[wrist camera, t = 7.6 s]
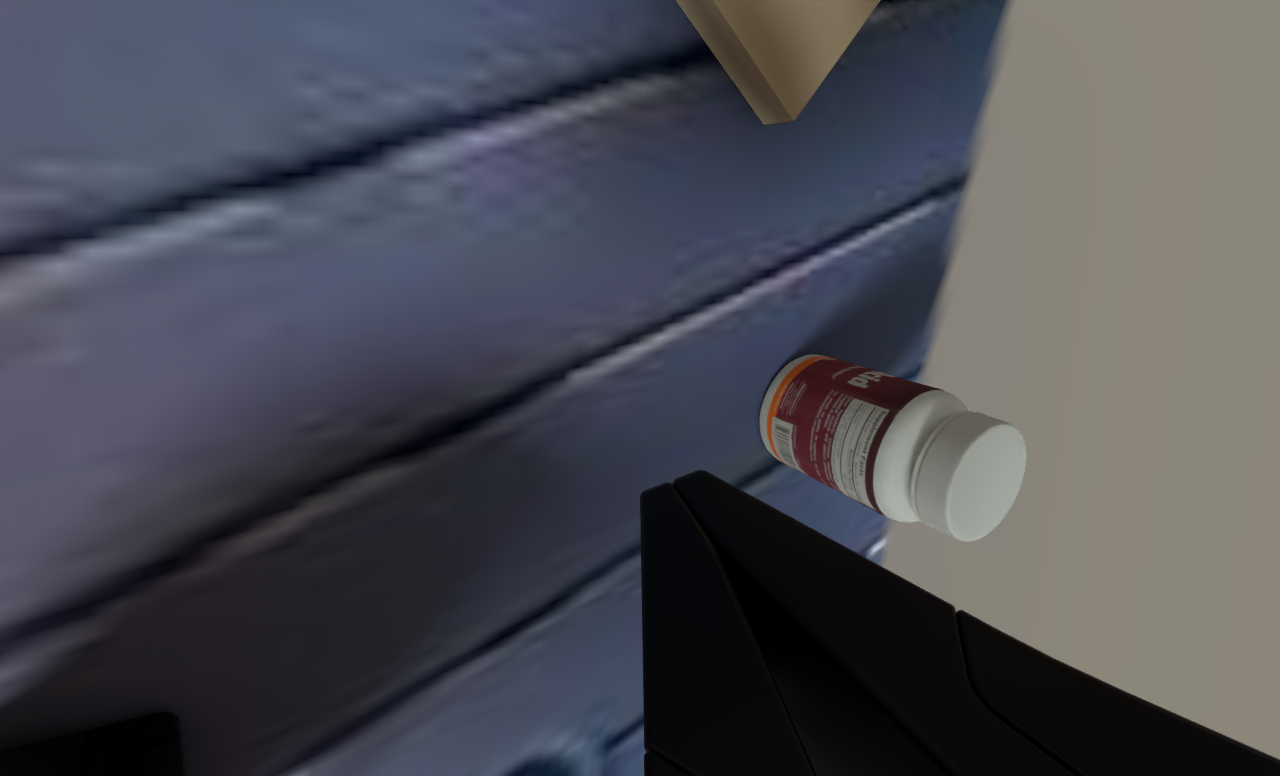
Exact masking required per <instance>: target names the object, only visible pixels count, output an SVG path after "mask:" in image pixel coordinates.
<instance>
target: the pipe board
mask: <svg viewBox="0 0 1280 776" xmlns="http://www.w3.org/2000/svg"><path fill="white" fill-rule="evenodd" d="M880 1H881V0H676V2H677V3H678V5H679V6H680V7H681V9H682V10H683V12H684V13H685V14H686V16H687V17H688V19H689V20H690V22H691V23H692V24H693V26H694V27H695V29H696V30H697V31H698V33H699V34H700V36H701V37H702V38H703V40H704V41H705V43H706V44H707V46H708V47H709V48H710V50H711V51H712V53H713V54H714V55H715V57H716V58H717V60H718V61H719V62H720V64H721V65H722V67H723V68H724V70H725V71H726V72H727V74H728V75H729V77H730V78H731V79H732V81H733V82H734V84H735V85H736V86H737V88H738V89H739V91H740V92H741V94H742V95H743V96H744V98H745V99H746V101H747V102H748V103H749V105H750V106H751V108H752V109H753V110H754V112H755V113H756V115H757V116H758V118H759V119H760V120H761V122H762V123H763V125H766V124H775V123H784V122H794V121H795V120H796V118H797V117H798V115H799V114H800V113H801V111H802V110H803V108H804V107H805V106H806V104H807V103H808V101H809V100H810V99H811V97H812V96H813V94H814V93H815V92H816V90H817V89H818V87H819V86H820V85H821V83H822V82H823V80H824V79H825V78H826V76H827V75H828V73H829V72H830V71H831V69H832V68H833V66H834V65H835V64H836V62H837V61H838V59H839V58H840V57H841V55H842V54H843V52H844V51H845V50H846V48H847V47H848V45H849V44H850V43H851V41H852V40H853V38H854V37H855V36H856V34H857V33H858V31H859V30H860V29H861V27H862V26H863V24H864V23H865V22H866V20H867V19H868V17H869V16H870V15H871V13H872V12H873V10H874V9H875V8H876V6H877V5H878V3H879V2H880Z"/></svg>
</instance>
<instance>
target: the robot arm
mask: <svg viewBox="0 0 1280 776" xmlns="http://www.w3.org/2000/svg"><path fill="white" fill-rule="evenodd" d="M640 518H641V577H642V636H643V696H644V747H645V750H646V754H645V755H644V776H1280V760H1279V759H1277V758H1275V757H1273V756H1270V755H1268V754H1266V753H1263V752H1261V751H1259V750H1257V749H1254V748H1252V747H1250V746H1247V745H1245V744H1243V743H1241V742H1239V741H1236V740H1234V739H1232V738H1230V737H1227V736H1225V735H1223V734H1220V733H1218V732H1216V731H1214V730H1211V729H1209V728H1207V727H1205V726H1202V725H1200V724H1198V723H1196V722H1193V721H1191V720H1189V719H1187V718H1184V717H1182V716H1180V715H1177V714H1175V713H1173V712H1171V711H1168V710H1166V709H1164V708H1162V707H1159V706H1157V705H1155V704H1153V703H1150V702H1148V701H1146V700H1143V699H1141V698H1139V697H1137V696H1134V695H1132V694H1130V693H1127V692H1125V691H1123V690H1121V689H1119V688H1117V687H1114V686H1112V685H1110V684H1108V683H1106V682H1103V681H1102V680H1099V679H1097V678H1095V677H1093V676H1091V675H1089V674H1086V673H1084V672H1082V671H1080V670H1078V669H1075V668H1073V667H1071V666H1069V665H1067V664H1065V663H1063V662H1060V661H1058V660H1056V659H1054V658H1052V657H1050V656H1048V655H1046V654H1044V653H1042V652H1041V651H1039V650H1036V649H1035V648H1033V647H1031V646H1029V645H1027V644H1025V643H1023V642H1021V641H1019V640H1017V639H1015V638H1013V637H1011V636H1009V635H1007V634H1006V633H1004V632H1002V631H1000V630H998V629H996V628H994V627H992V626H990V625H988V624H987V623H985V622H983V621H981V620H979V619H978V618H976V617H974V616H972V615H970V614H968V613H967V612H965V611H963V610H959V611H957V612H956V610H955V607H954V606H953V605H951V604H949V603H947V602H946V601H944V600H942V599H940V598H938V597H936V596H935V595H933V594H931V593H929V592H927V591H925V590H924V589H922V588H920V587H918V586H916V585H914V584H913V583H911V582H909V581H907V580H905V579H903V578H901V577H900V576H898V575H896V574H894V573H892V572H891V571H889V570H887V569H885V568H883V567H881V566H880V565H878V564H876V563H874V562H872V561H870V560H869V559H867V558H865V557H863V556H861V555H859V554H858V553H856V552H854V551H852V550H850V549H848V548H847V547H845V546H843V545H841V544H839V543H837V542H835V541H834V540H832V539H830V538H828V537H826V536H824V535H823V534H821V533H819V532H817V531H815V530H813V529H812V528H810V527H808V526H806V525H804V524H802V523H801V522H799V521H797V520H795V519H793V518H791V517H790V516H788V515H786V514H784V513H782V512H780V511H778V510H777V509H775V508H773V507H771V506H769V505H767V504H766V503H764V502H762V501H760V500H758V499H756V498H755V497H753V496H751V495H749V494H747V493H745V492H744V491H742V490H740V489H738V488H736V487H734V486H733V485H731V484H729V483H727V482H725V481H723V480H722V479H720V478H718V477H716V476H714V475H712V474H710V473H709V472H707V471H704V470H697V471H695V472H692V473H690V474H687V475H684V476H682V477H679V478H677V479H675V480H674V482H673V485H672V484H671V483H668V482H667V483H663V484H661V485H658V486H655V487H653V488H650V489H648V490H645V491H643V492H642V493H641V496H640ZM154 731H164V732H166V733H165V734H163V735H161V736H159V737H150V736H147V735H148V734H149V733H152V732H154ZM0 776H186V771H185V762H184V753H183V743H182V734H181V725H180V721H179V719H178V717H177V716H175V715H174V714H172V713H167V712H160V713H154V714H150V715H146V716H142V717H138V718H134V719H130V720H126V721H122V722H118V723H114V724H110V725H106V726H102V727H98V728H94V729H91V730H87V731H83V732H79V733H75V734H71V735H64V736H60V737H56V738H52V739H48V740H44V741H40V742H36V743H32V744H28V745H24V746H21V747H17V748H13V749H9V750H5V751H1V752H0Z"/></svg>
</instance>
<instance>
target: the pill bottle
mask: <svg viewBox="0 0 1280 776" xmlns="http://www.w3.org/2000/svg"><path fill="white" fill-rule="evenodd" d="M759 424H760V433H761V437H762V440H763V442H764V445H765V447H766V448H767V450H768V451H769V452H770V453H771V454H772V455H773V456H774V457H775V458H777V459H778V460H779V461H781V462H783V463H785V464H787V465H789V466H791V467H792V468H794V469H797V470H799V471H801V472H803V473H804V474H806V475H808V476H810V477H812V478H814V479H816V480H817V481H819V482H821V483H823V484H825V485H827V486H829V487H831V488H833V489H835V490H837V491H839V492H840V493H842V494H844V495H846V496H848V497H850V498H852V499H853V500H856V501H858V502H859V503H861V504H863V505H864V506H867V507H869V508H870V509H872V510H874V511H875V512H877V513H879V514H881V515H883V516H886V517H888V518H890V519H893V520H896V521H900V522H916V521H921V522H922V523H924V524H926V525H928V526H929V527H931V528H933V529H936V530H938V531H940V532H942V533H944V534H946V535H949V536H951V537H953V538H955V539H958V540H960V541H966V542H970V541H975V540H977V539H980V538H982V537H984V536H985V535H987V534H988V533H989V532H990V531H992V530H993V529H994V528H995V527H996V526H997V525H998V524H999V523H1000V522H1001V520H1002V519H1003V517H1004V516H1005V515H1006V513H1007V511H1008V510H1009V509H1010V507H1011V506H1012V504H1013V502H1014V500H1015V498H1016V496H1017V494H1018V492H1019V489H1020V486H1021V484H1022V480H1023V476H1024V472H1025V467H1026V445H1025V441H1024V438H1023V435H1022V434H1021V432H1020V431H1019V430H1018V428H1016V427H1015V426H1013V425H1012V424H1010V423H1007V422H1004V421H1001V420H999V419H995V418H992V417H989V416H987V415H984V414H982V413H978V412H971V411H968V409H967V407H966V406H965V405H964V404H963V403H962V401H960V400H959V399H958V398H956V397H955V396H954V395H952V394H950V393H948V392H945V391H944V390H941V389H938V388H933V387H930V386H926V385H923V384H919V383H915V382H912V381H908V380H905V379H902V378H898V377H895V376H891V375H888V374H886V373H883V372H879V371H876V370H872V369H868V368H865V367H861V366H858V365H855V364H852V363H848V362H844V361H840V360H837V359H833V358H830V357H827V356H823V355H816V354H812V355H805V356H802V357H800V358H797V359H795V360H793V361H792V362H790V363H789V364H787V365H786V366H785V367H784V368H783V369H782V370H781V371H780V372H779V373H778V374H777V376H776V377H775V378H774V380H773V382H772V383H771V385H770V387H769V389H768V390H767V393H766V395H765V397H764V400H763V403H762V406H761V410H760V422H759Z"/></svg>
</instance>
